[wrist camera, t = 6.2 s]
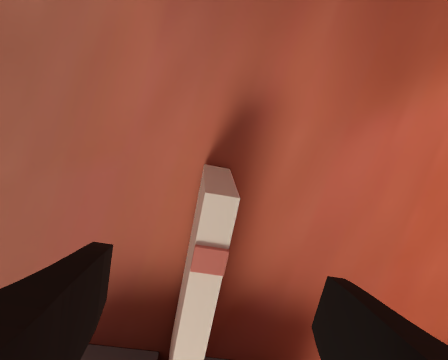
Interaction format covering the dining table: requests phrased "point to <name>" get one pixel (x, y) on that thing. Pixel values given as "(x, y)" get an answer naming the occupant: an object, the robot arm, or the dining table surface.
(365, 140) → the dining table surface
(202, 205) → the pale narrow strip
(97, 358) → the panel
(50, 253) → the dining table surface
